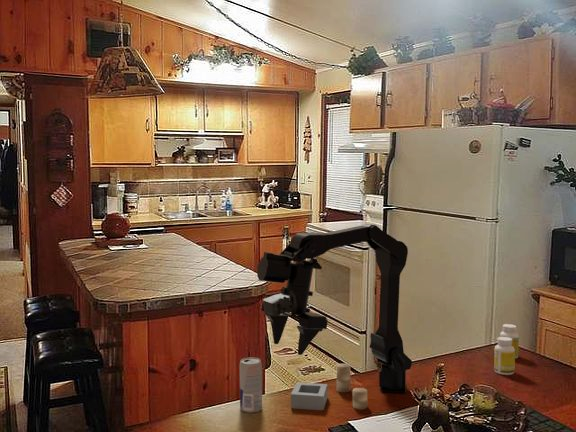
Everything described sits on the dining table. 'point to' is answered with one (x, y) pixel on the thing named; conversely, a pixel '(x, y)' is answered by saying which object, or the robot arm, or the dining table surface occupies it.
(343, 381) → the beige peg
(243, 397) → the energy drink
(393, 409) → the dining table surface
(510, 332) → the supplement bottle
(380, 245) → the robot arm
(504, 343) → the supplement bottle
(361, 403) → the short pin
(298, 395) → the hole block
